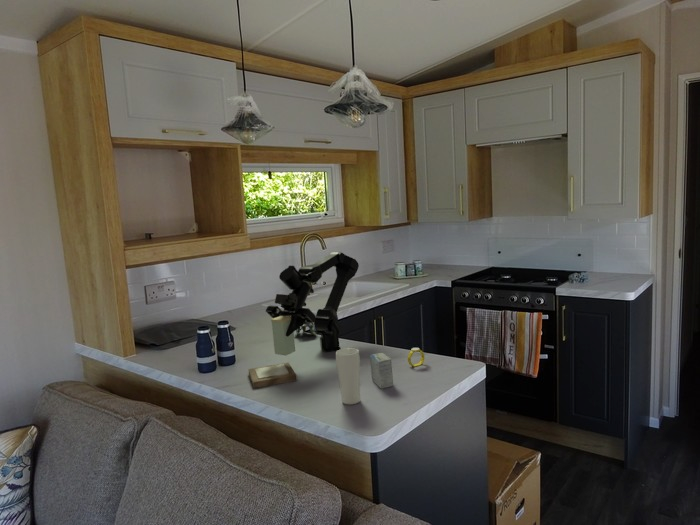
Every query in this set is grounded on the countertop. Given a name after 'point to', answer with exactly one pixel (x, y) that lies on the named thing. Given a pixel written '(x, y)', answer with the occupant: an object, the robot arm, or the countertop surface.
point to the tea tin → (282, 336)
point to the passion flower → (303, 327)
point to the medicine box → (381, 370)
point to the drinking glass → (349, 374)
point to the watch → (411, 355)
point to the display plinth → (272, 375)
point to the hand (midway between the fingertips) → (280, 335)
